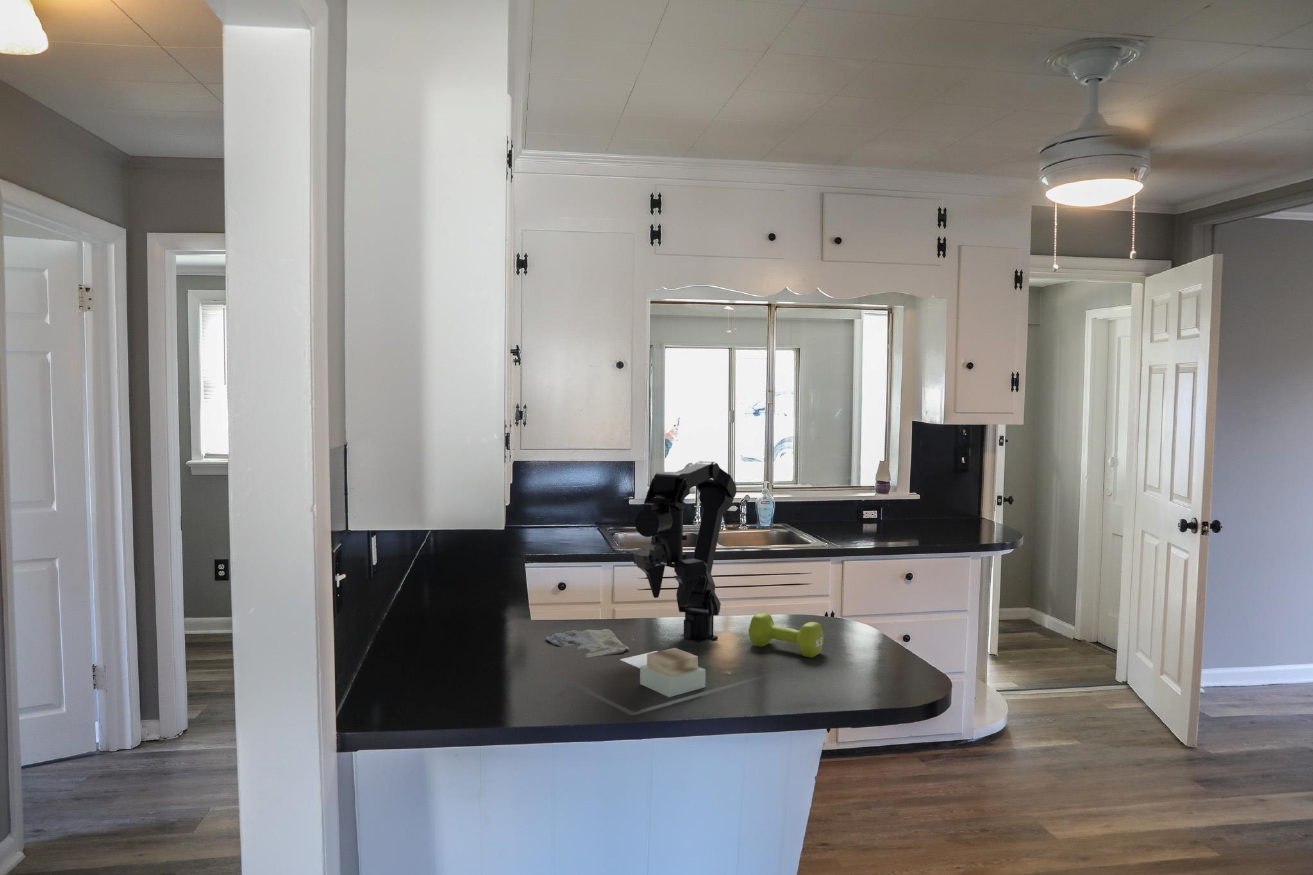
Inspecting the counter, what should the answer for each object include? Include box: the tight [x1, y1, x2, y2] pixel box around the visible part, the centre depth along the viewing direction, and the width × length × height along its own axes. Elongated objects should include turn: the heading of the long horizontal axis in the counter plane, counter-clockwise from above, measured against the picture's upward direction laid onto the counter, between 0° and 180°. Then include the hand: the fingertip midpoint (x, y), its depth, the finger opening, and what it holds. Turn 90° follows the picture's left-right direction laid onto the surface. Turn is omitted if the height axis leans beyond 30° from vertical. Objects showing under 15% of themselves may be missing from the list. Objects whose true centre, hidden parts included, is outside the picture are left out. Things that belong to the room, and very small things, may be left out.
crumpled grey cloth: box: [545, 628, 630, 658], centre depth 188 cm, size 18×15×2 cm
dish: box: [639, 665, 707, 698], centre depth 161 cm, size 9×9×4 cm
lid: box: [647, 647, 699, 676], centre depth 161 cm, size 7×7×2 cm
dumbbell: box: [748, 612, 825, 659], centre depth 187 cm, size 16×8×7 cm, turn 52°
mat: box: [619, 650, 659, 669], centre depth 176 cm, size 10×10×1 cm
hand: (669, 601), depth 181 cm, fingers open, 9 cm apart
